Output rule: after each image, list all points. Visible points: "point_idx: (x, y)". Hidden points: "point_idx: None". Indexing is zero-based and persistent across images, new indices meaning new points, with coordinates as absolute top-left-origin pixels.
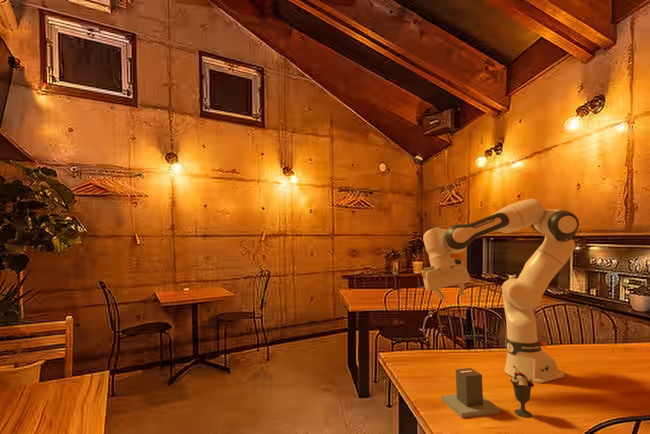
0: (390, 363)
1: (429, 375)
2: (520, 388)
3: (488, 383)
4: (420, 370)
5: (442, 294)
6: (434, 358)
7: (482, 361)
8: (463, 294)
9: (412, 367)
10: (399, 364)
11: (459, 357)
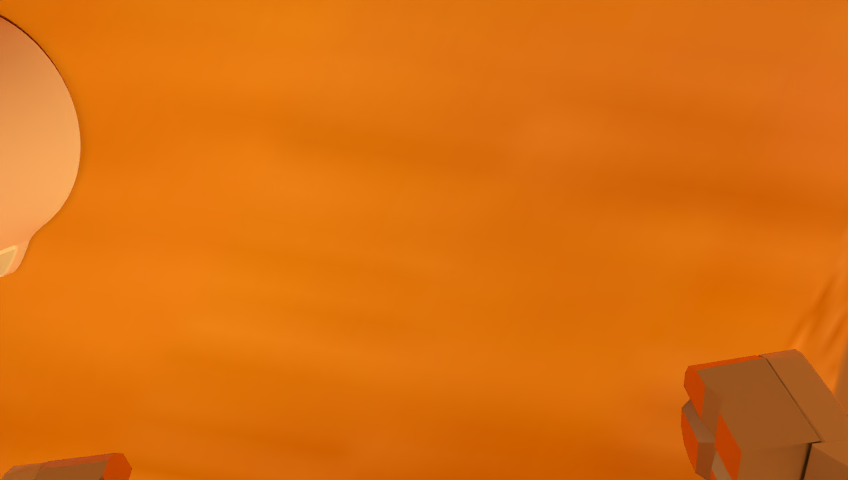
0: None
1: (626, 204)
2: None
3: (281, 14)
4: (648, 294)
5: (790, 442)
6: (446, 467)
7: (141, 360)
8: (45, 463)
9: (680, 352)
10: None
11: (264, 450)
